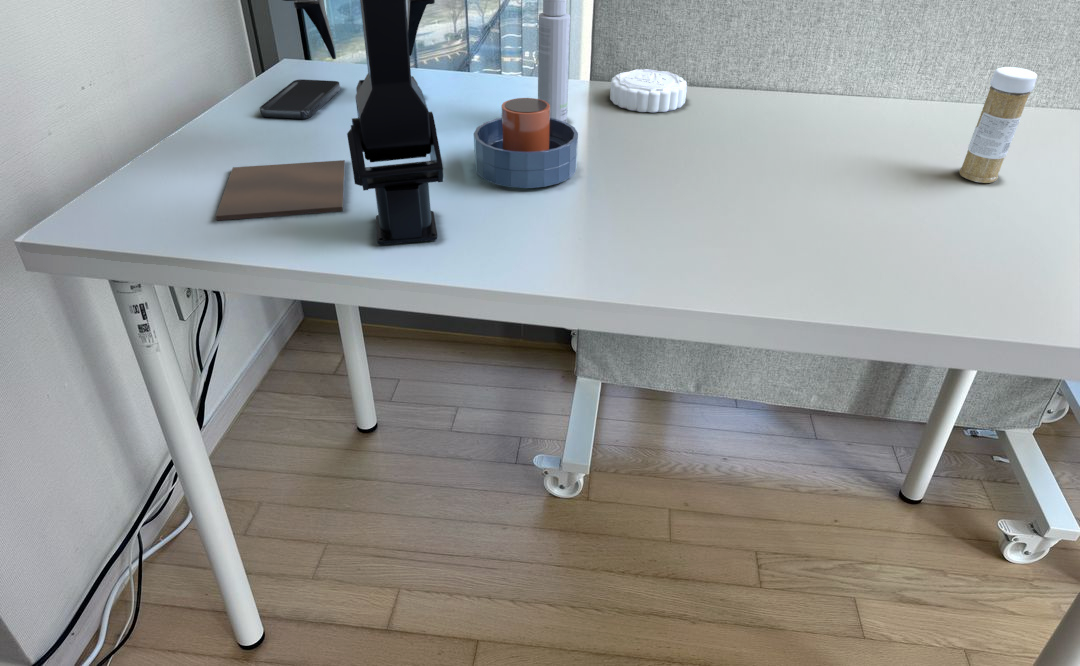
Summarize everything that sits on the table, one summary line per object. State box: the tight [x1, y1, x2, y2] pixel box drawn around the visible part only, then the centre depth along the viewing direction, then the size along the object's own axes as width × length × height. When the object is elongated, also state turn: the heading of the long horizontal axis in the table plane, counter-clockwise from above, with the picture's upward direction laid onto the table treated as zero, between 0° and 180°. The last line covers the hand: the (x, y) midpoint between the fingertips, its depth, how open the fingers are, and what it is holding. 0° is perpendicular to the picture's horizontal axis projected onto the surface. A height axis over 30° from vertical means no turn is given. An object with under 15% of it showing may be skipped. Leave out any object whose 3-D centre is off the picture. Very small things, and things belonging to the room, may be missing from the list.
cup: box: [501, 97, 550, 152], centre depth 95 cm, size 6×6×8 cm
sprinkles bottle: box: [958, 66, 1038, 184], centre depth 93 cm, size 5×5×14 cm
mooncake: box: [609, 68, 688, 114], centre depth 119 cm, size 12×12×4 cm
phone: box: [259, 78, 341, 120], centre depth 118 cm, size 8×1×15 cm
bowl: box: [473, 117, 579, 189], centre depth 96 cm, size 13×13×5 cm
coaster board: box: [215, 159, 346, 221], centre depth 91 cm, size 14×14×1 cm
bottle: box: [537, 0, 571, 123], centre depth 106 cm, size 4×4×20 cm
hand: (372, 56), depth 93 cm, fingers open, 9 cm apart
